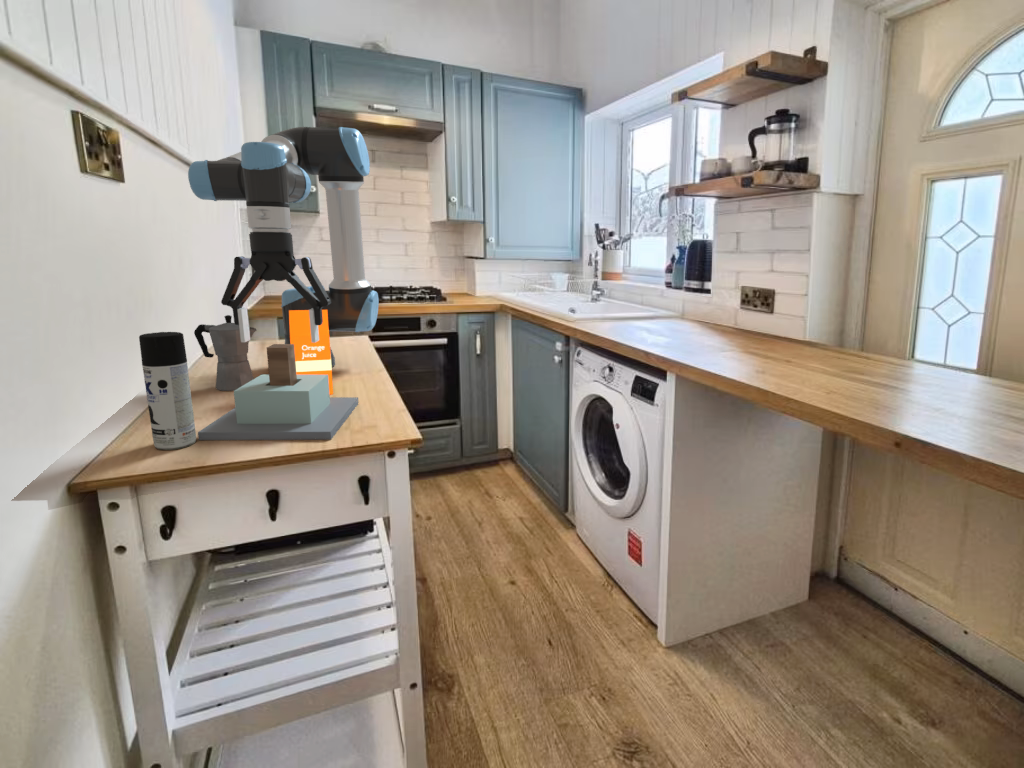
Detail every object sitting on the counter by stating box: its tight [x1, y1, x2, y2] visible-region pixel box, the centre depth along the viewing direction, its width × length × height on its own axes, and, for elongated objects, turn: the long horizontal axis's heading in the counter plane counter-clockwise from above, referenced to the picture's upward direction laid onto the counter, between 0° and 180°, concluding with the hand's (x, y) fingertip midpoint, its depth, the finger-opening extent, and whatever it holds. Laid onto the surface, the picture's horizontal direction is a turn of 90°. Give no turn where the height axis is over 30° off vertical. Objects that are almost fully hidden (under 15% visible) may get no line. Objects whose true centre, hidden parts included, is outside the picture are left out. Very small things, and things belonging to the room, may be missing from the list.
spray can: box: [138, 331, 197, 451], centre depth 99 cm, size 7×7×20 cm
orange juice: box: [289, 310, 334, 395], centre depth 135 cm, size 8×9×20 cm
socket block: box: [197, 373, 360, 441], centre depth 114 cm, size 24×24×8 cm
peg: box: [266, 343, 297, 386], centre depth 113 cm, size 4×4×14 cm
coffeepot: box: [193, 314, 257, 392], centre depth 139 cm, size 15×9×18 cm, turn 88°
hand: (280, 341), depth 112 cm, fingers open, 13 cm apart
